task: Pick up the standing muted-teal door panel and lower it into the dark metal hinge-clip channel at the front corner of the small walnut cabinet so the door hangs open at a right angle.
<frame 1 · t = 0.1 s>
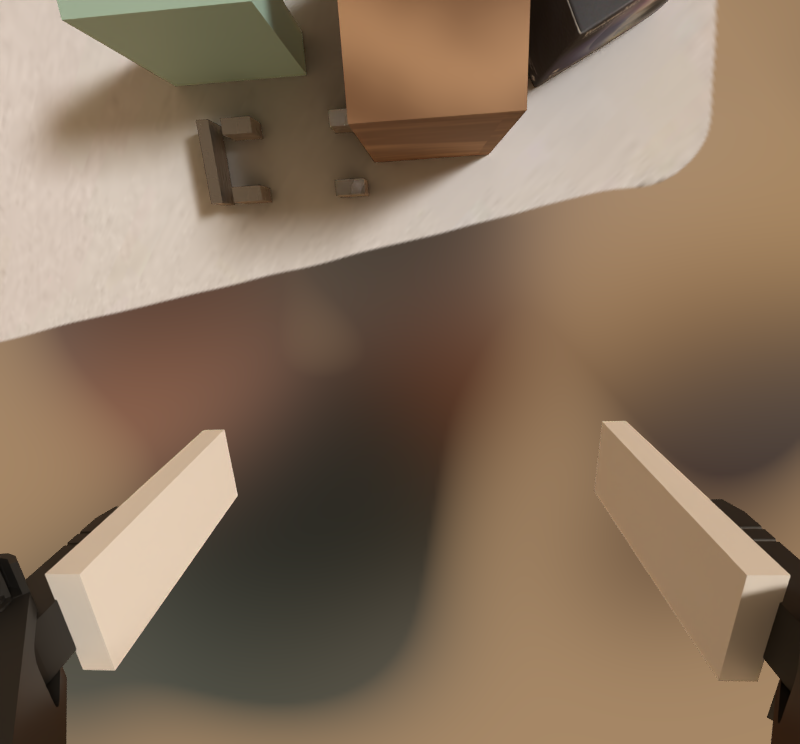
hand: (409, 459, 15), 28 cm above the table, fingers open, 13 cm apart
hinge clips: (302, 161, 37), on the table
door: (237, 60, 35), on the table
cabinet: (428, 64, 34), on the table
small box: (578, 15, 33), on the table
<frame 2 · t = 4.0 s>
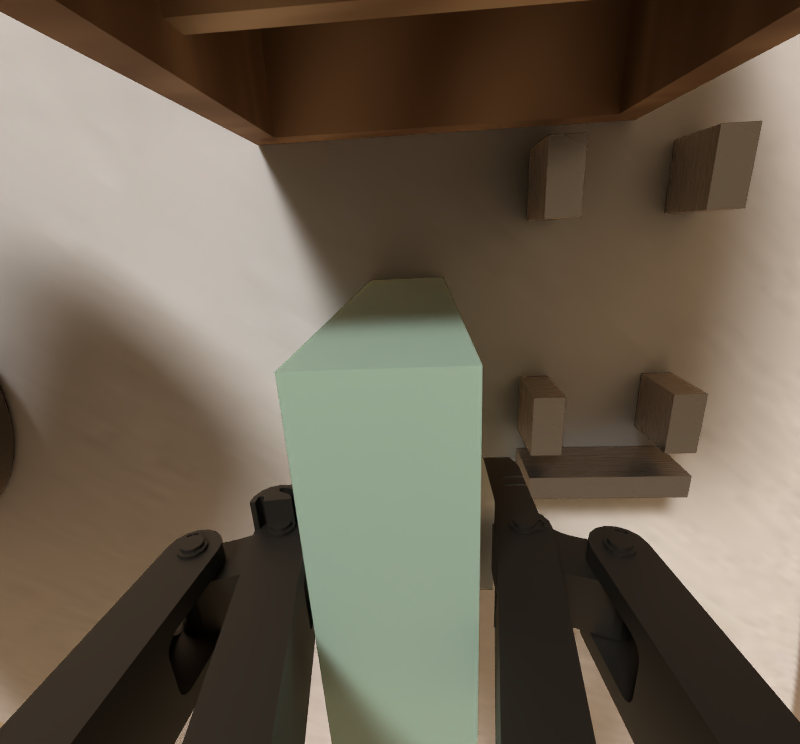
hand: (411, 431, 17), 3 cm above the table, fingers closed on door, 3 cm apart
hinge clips: (602, 300, 17), on the table
door: (412, 405, 19), on the table, touching gripper
when the fingers open (4 cm above the table, at t = 8.7 s): door drops 1 cm, on the table.
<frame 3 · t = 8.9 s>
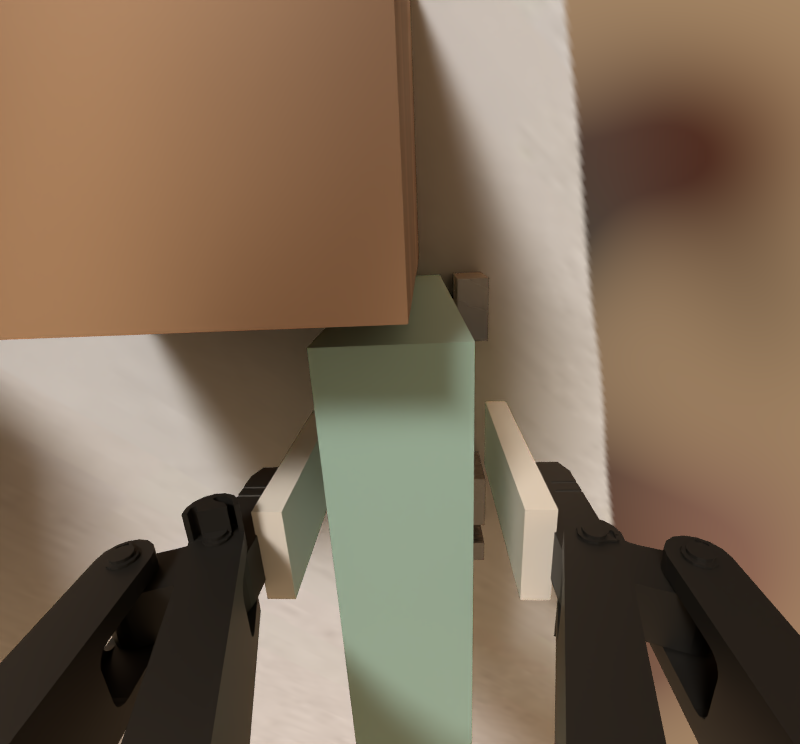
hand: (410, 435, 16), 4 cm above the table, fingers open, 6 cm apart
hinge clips: (413, 394, 21), on the table
door: (411, 394, 21), on the table
cabinet: (245, 140, 17), on the table
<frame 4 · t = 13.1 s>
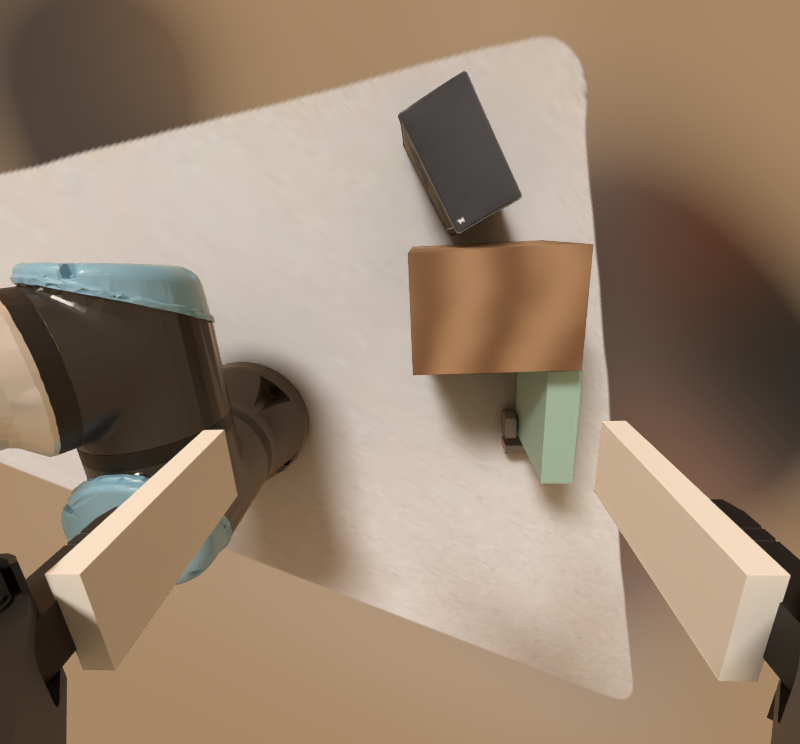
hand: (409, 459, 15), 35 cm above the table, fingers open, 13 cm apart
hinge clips: (530, 384, 50), on the table
door: (529, 384, 50), on the table
cabinet: (476, 290, 47), on the table
small box: (452, 174, 43), on the table
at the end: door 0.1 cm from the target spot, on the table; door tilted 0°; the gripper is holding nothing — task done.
